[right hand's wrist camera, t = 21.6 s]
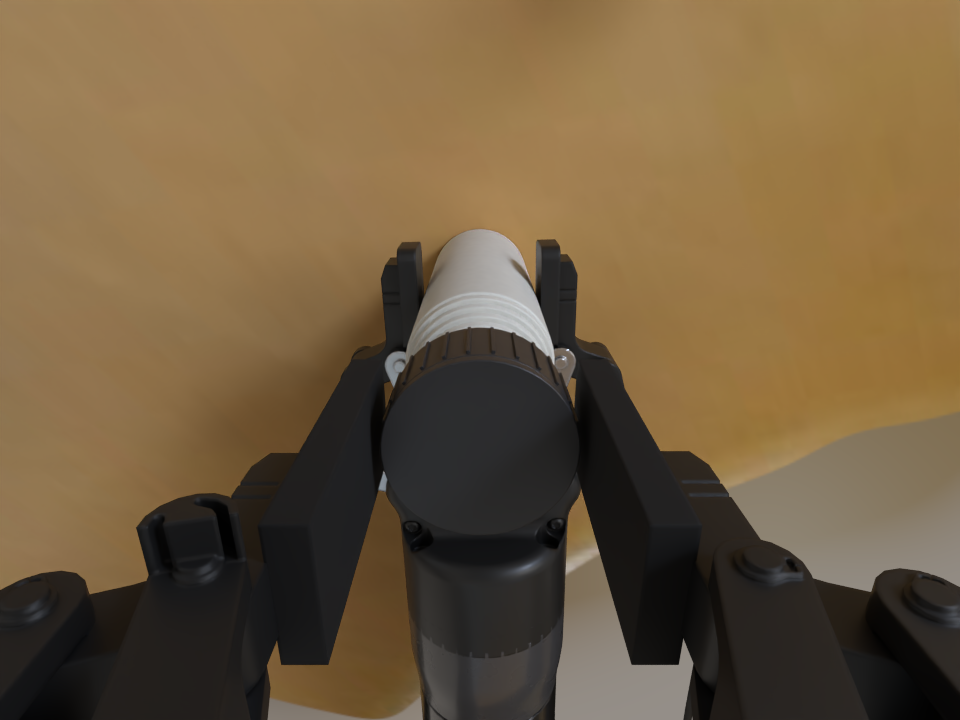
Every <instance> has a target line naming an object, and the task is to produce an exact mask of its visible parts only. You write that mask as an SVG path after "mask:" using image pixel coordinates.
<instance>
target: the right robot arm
mask: <svg viewBox="0 0 960 720" xmlns="http://www.w3.org/2000/svg"><path fill="white" fill-rule="evenodd" d="M574 410H575V413H576V416H577V418H578V422H579V424H577V426H578V431H579V436H580V458H579V464H578V468H577V471H576V472H577V476H578V479H579V483H580V486H581V489H582V493H583V496H584V500H585V503H586V507H587V510H588V514H589V517H590V521H591V524H592V528H593V531H594V535H595V538H596V542H597V545H598V549H599V552H600V556H601V559H602V563H603V566H604V570H605V573H606V577H607V580H608V584H609V587H610V591H611V594H612V598H613V601H614V605H615V608H616V611H617V615H618V619H619V622H620V625H621V629H622V632H623V636H624V640H625V643H626V647H627V650H628V654H629V657H630V660H631V664H632V665H678V664H679V660H680V654H681V648H682V642H683V638H684V641H685V643H686V646H687V648H688V651H689V653H690V656H691V658H692V661H693V663H694V664H693V670H692V675H691V680H690V686H689V691H688V697H687V702H686V707H685V714H684V720H691V719H692V717H693V720H960V587H958V586H956V585H954V584H952V583H950V582H948V581H947V580H945V579H943V578H940V577H937V576H935V575H931V574H928V573H924V572H921V571H916V570H908V569H900V568H899V569H893V570H886V571H884V572H882V573H881V574H880V575H879V576H877V577H876V579H875V582H874V585H873V588H872V591H871V592H868V591H863V590H858V589H854V588H849V587H845V586H840V585H836V584H831V583H827V582H824V581H820V580H817V579H813V578H812V575H811V573H810V572H809V570H808V569H807V568H806V566H805V565H804V563H803V562H802V561H801V560H799V559H798V558H797V557H796V556H794V555H793V554H792V553H791V552H789V551H788V550H786V549H784V548H782V547H779V546H777V545H775V544H773V543H771V542H767V541H763V540H761V539H760V538H759V537H758V535H757V534H756V532H755V531H754V529H753V528H752V526H751V525H750V524H749V522H748V521H747V519H746V518H745V516H744V515H743V513H742V512H741V511H740V509H739V508H738V506H737V505H736V503H735V502H734V500H733V499H732V498H731V497H729V493H728V492H727V490H726V489H725V487H724V486H723V485H722V484H720V480H719V479H718V477H717V476H716V475H715V473H714V472H713V470H712V469H711V467H710V466H709V465H708V464H707V463H705V462H704V461H702V460H701V459H700V458H698V457H697V456H695V455H694V454H692V453H691V452H690V451H660V450H659V448H658V446H657V445H656V443H655V441H654V439H653V438H652V436H651V434H650V432H649V431H648V429H647V427H646V425H645V424H644V422H643V420H642V418H641V417H640V415H639V413H638V411H637V410H636V408H635V406H634V404H633V403H632V401H631V399H630V397H629V395H628V394H627V392H626V390H625V388H624V387H623V385H622V383H621V381H620V380H619V378H618V376H617V374H616V373H615V371H614V369H613V367H612V366H611V364H610V362H609V360H608V359H578V362H577V377H576V392H575V407H574ZM385 411H386V407H385V392H384V377H383V362H382V359H352V360H351V362H350V364H349V366H348V367H347V369H346V371H345V373H344V374H343V376H342V378H341V380H340V381H339V383H338V385H337V387H336V388H335V390H334V392H333V394H332V395H331V397H330V399H329V401H328V402H327V404H326V406H325V408H324V409H323V411H322V413H321V415H320V417H319V418H318V420H317V422H316V424H315V425H314V427H313V429H312V431H311V432H310V434H309V436H308V438H307V439H306V441H305V443H304V445H303V446H302V448H301V450H300V452H299V453H270V454H269V455H268V456H266V457H265V458H263V459H262V460H260V461H259V462H258V463H256V464H255V465H253V466H252V467H251V468H250V470H249V471H248V473H247V474H246V475H245V477H244V478H243V480H242V481H241V485H240V486H238V487H237V488H236V490H235V491H234V493H233V494H232V498H230V497H228V496H224V495H220V494H216V493H209V494H195V495H190V496H186V497H181V498H178V499H175V500H173V501H171V502H168V503H166V504H164V505H161V506H159V507H158V508H157V509H155V510H154V511H152V512H151V513H149V514H148V515H146V516H145V517H144V519H143V520H142V521H141V522H140V524H139V525H138V526H137V527H136V529H137V532H138V536H139V540H140V544H141V547H142V551H143V555H144V559H145V562H146V566H147V570H148V574H149V576H148V579H147V581H145V582H141V583H138V584H134V585H131V586H126V587H121V588H117V589H112V590H108V591H103V592H99V593H94V594H90V595H89V591H88V588H87V585H86V582H85V580H84V579H83V578H82V577H80V576H79V575H78V574H77V573H72V572H65V571H56V572H48V573H41V574H38V575H34V576H31V577H29V578H28V577H27V578H25V579H22V580H19V581H17V582H15V583H13V584H11V585H9V586H7V587H6V588H4V589H2V590H0V720H267V718H268V708H269V698H270V681H269V675H268V670H267V664H268V661H269V659H270V656H271V654H272V651H273V649H274V646H275V644H276V641H277V642H278V648H279V654H280V660H281V665H328V664H329V660H330V657H331V653H332V650H333V647H334V643H335V640H336V636H337V633H338V629H339V626H340V622H341V619H342V615H343V612H344V608H345V605H346V601H347V598H348V594H349V591H350V587H351V584H352V580H353V577H354V573H355V570H356V566H357V563H358V559H359V556H360V552H361V549H362V545H363V542H364V538H365V535H366V531H367V528H368V524H369V521H370V517H371V514H372V510H373V507H374V503H375V500H376V496H377V493H378V489H379V486H380V482H381V479H382V476H383V472H384V469H383V466H382V461H381V456H380V440H381V432H382V429H383V425H384V424H383V423H382V420H383V417H384V414H385Z"/></svg>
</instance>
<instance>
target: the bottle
mask: <svg viewBox="0 0 960 720" xmlns="http://www.w3.org/2000/svg"><path fill="white" fill-rule="evenodd" d="M468 327H471V328H490V327H494V329H499V330H503V331H507V332H510V333H512V332H515V333H516V335H518V336H520V337H523V338H524V339H526V340H528V341H529V342H531V343H532V342H534V343H535V345H536V346H537V347H538V348H539V349H540V350H542V351H543V352H544V353H545V354H546V356H550V357H551V359H552V362H553V364H554V365H555V356H554V349H553V345H552V341H551V338H550V335H549V332H548V329H547V326H546V323H545V321H544V318H543V315H542V312H541V309H540V306H539V303H538V301H537V298H536V295H535V292H534V289H533V286H532V283H531V281H530V278H529V275H528V272H527V269H526V266H525V263H524V261H523V258H522V256H521V253H520V252H519V250H518V248H517V247H516V246H515V245H514V244H513V243H512V242H511V241H510V240H509V239H508V238H506V237H505V236H503V235H501V234H500V233H497V232H494V231H491V230H485V229H474V230H469V231H466V232H463V233H461V234H459V235H457V236H455V237H454V238H452V239H451V240H450V241H449V242H448V243H447V244H446V245H445V246H444V247H443V249H442V250H441V252H440V254H439V256H438V258H437V261H436V264H435V267H434V270H433V273H432V275H431V278H430V281H429V284H428V287H427V290H426V293H425V296H424V298H423V301H422V304H421V307H420V310H419V313H418V316H417V319H416V322H415V324H414V327H413V330H412V333H411V336H410V339H409V342H408V345H407V351H406V365H407V363H408V362H409V359H410V356H411V355H413V356H414V355H415V354H416V353H417V352H418V351H419V350H420V349H421V348H422V347H424V346H425V345H426V342H428V341H429V342H431V341H432V340H434V339H436V338H438V337H440V336H442V335H445V333H446V332H449V333H450V332H453V331H457V330H462V329H467V328H468Z"/></svg>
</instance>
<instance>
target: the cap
mask: <svg viewBox="0 0 960 720" xmlns="http://www.w3.org/2000/svg"><path fill="white" fill-rule="evenodd" d="M382 423H383V424H384V425H383V429H382V432H381V440H380V456H381V461H382V466H383V469H384V472H385V475H386V478H387V480H388V482H389V484H390V486H391V488H392V489H393V491H394V492H395V494H396V495H397V497H398V498H399V499H400V500H401V501H402V502H403V503H404V504H405V506H406V507H408V508H409V509H410V510H411V511H412V512H413V513H415V514H416V515H417V516H419V517H420V518H422V519H424V520H425V521H427V522H429V523H431V524H433V525H435V526H437V527H440V528H443V529H446V530H449V531H453V532H457V533H462V534H470V535H489V534H498V533H503V532H508V531H511V530H515V529H518V528H521V527H523V526H525V525H527V524H530V523H532V522H533V521H535V520H537V519H539V518H540V517H542V516H543V515H544V514H546V513H547V512H548V511H550V510H551V509H552V508H553V507H554V506H555V505H556V504H557V503H558V502H559V501H560V500H561V498H562V497H563V496H564V494H565V493H566V492H567V490H568V488H569V487H570V485H571V483H572V481H573V479H574V476H575V474H576V471H577V468H578V464H579V458H580V436H579V431H578V426H577V424H579V422H578V418H577V416H576V413H575V410H574V407H573V404H572V401H571V398H570V395H569V392H568V390H567V387H566V384H565V381H564V378H563V375H562V373H561V372H560V373H559V372H558V371H557V369H556V367H555V366H554V364H553V362H552V359H551V357H550V356H546V354H545V353H544V352H543V351H542V350H540V349H539V348H538V347H537V346H536V345H535V343H534V342H532V343H531V342H529V341H528V340H526V339H524V338H523V337H520V336H518V335H516V333H515V332H512V333H510V332H507V331H503V330H499V329H494V327H490V328H471V327H468V328H467V329H462V330H457V331H453V332H450V333H449V332H446V333H445V335H442V336H440V337H438V338H436V339H434V340H432V341H431V342H429V341H428V342H426V345H425V346H424V347H422V348H421V349H420V350H419V351H418V352H417V353H416V354H415V355H414V356H413V355H411V356H410V359H409V362H408V363H407V365H406V366H405V368H404V370H403V371H402V372H399V374H398V377H397V380H396V383H395V386H394V389H393V391H392V393H391V396H390V399H389V402H388V405H387V408H386V411H385V414H384V417H383V420H382Z"/></svg>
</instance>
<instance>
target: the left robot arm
mask: <svg viewBox="0 0 960 720" xmlns="http://www.w3.org/2000/svg"><path fill="white" fill-rule="evenodd" d="M381 285H382V293H383V295H382V296H383V307H384V319H385V330H386V341H385V342H383V343H381V344H379V345H376V346H373V347H370V346H363V347H360V348H358V349H357V350H356V351H355V353H354V355H353V356H352V359H382V362H383V377H384V383H386V382H389V381H391V383H392V385H393V387H394V386H395V383H396V380H397V377H398V374H399V372H402V371H403V370H404V368H405V366H406V351H407V345H408V342H409V339H410V336H411V333H412V330H413V327H414V324H415V322H416V319H417V316H418V313H419V310H420V307H421V304H422V301H423V298H424V284H423V267H422V251H421V243H420V242H402V243H401V245H400V246H399V247H398V249H397V258H390V259H389V261H388V262H387V264H386V265H385V268H384V271H383V274H382V277H381ZM535 295H536V298H537V301H538V303H539V306H540V309H541V312H542V315H543V318H544V321H545V323H546V326H547V329H548V332H549V335H550V338H551V341H552V345H553V349H554V356H555V365H554V366H555V367H556V369H557V371H558V372H559V373H560V372H561V373H562V375H563V378H564V381H565V384H566V387H567V386H568V383H569V381H570V378H571V377H572V378H575V379H576V377H577V362H578V359H608V360H609V362H610V364H611V366H612V367H613V369H614V371H615V373H616V374H617V376H618V378H619V380H620V381H621V383H622V385H623V387H624V384H623V379H622V375H621V371H620V369H619V368H618V366H617V364H616V363H615V361H614V359H613V358H612V356H611V354H610V353H609V351H608V349H607V348H606V346H605V345H603V344H602V343H599V342H592V343H589V342H586V341H583V340H580V339H578V338H577V337H576V336H575V322H576V298H577V272H576V270H575V267H574V264H573V262H572V260H571V259H570V257H569V256H568V255H567V254H560V246H559V244H558V243H557V241H556V240H555V239H551V240H537V243H536V292H535ZM352 359H351V360H352ZM346 369H347V367H346ZM346 369H345V370H344V372H343V374H344V373H345V371H346ZM343 374H342V376H343ZM342 376H341V378H342ZM378 490H380V491H384V492H386V494H387V497H388V499H389V501H390V503H391V504H392V505H393V507H394V508H395V509H396V511H397V513H398V514H399V517H400V521H401V530H402V541H403V552H404V563H405V574H406V587H407V598H408V610H409V621H410V632H411V642H412V649H413V654H414V658H415V662H416V666H417V669H418V673H419V678H420V689H421V701H422V712H423V720H555V692H556V672H557V667H558V663H559V659H560V654H561V648H562V640H563V619H564V594H565V569H566V545H567V522H568V514H569V511H570V509H571V507H572V506H573V504H574V503H575V501H576V500H577V498H578V496H579V494H580V491H581V486H580V483H579V479H578V476H577V472H576V474H575V476H574V479H573V481H572V483H571V485H570V487H569V488H568V490H567V492H566V493H565V494H564V496H563V497H562V498H561V500H560V501H559V502H558V503H557V504H556V505H555V506H554V507H553V508H552V509H551V510H550V511H548V512H547V513H546V514H544V515H543V516H542V517H540V518H539V519H537V520H535V521H533V522H532V523H530V524H527V525H525V526H523V527H521V528H518V529H515V530H511V531H508V532H503V533H498V534H489V535H470V534H462V533H457V532H453V531H449V530H446V529H443V528H440V527H437V526H435V525H433V524H431V523H429V522H427V521H425V520H424V519H422V518H420V517H419V516H417V515H416V514H415V513H413V512H412V511H411V510H410V509H409V508H408V507H406V506H405V504H404V503H403V502H402V501H401V500H400V499H399V498H398V497H397V495H396V494H395V492H394V491H393V489H392V488H391V486H390V484H389V482H388V480H387V478H386V475H385V472H383V476H382V479H381V482H380V486H379V489H378Z"/></svg>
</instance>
